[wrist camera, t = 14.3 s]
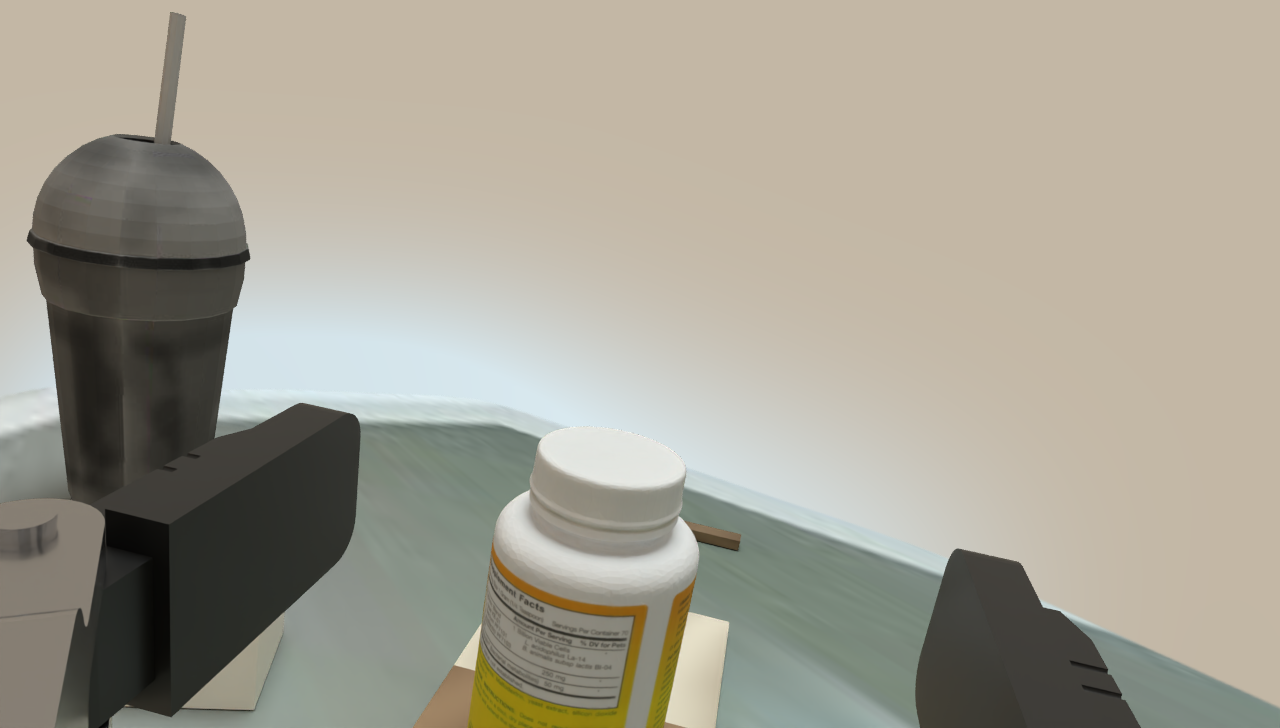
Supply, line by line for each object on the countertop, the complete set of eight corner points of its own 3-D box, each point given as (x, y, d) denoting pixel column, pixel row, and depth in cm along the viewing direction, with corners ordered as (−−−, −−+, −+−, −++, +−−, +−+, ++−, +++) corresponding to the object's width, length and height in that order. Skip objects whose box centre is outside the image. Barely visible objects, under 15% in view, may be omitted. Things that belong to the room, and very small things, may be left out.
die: (283, 632, 30) (291, 521, 29) (254, 710, 26) (261, 585, 25) (158, 626, 29) (161, 511, 28) (110, 705, 25) (111, 576, 24)
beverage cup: (-15, 526, 33) (-34, -29, 28) (148, 467, 40) (158, 12, 34) (129, 586, 31) (138, 0, 26) (275, 514, 38) (306, 38, 32)
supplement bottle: (590, 694, 29) (644, 410, 26) (686, 815, 24) (762, 490, 22) (430, 735, 26) (473, 418, 23) (508, 883, 21) (571, 512, 18)
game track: (738, 543, 43) (741, 532, 43) (684, 938, 21) (689, 919, 21) (566, 502, 44) (568, 491, 44) (350, 837, 22) (352, 819, 22)
